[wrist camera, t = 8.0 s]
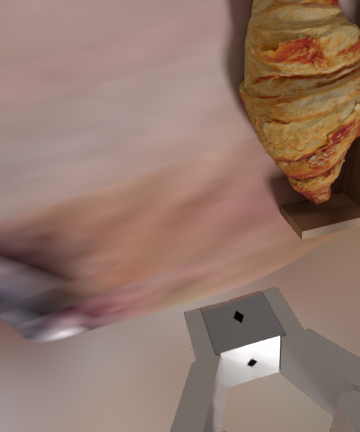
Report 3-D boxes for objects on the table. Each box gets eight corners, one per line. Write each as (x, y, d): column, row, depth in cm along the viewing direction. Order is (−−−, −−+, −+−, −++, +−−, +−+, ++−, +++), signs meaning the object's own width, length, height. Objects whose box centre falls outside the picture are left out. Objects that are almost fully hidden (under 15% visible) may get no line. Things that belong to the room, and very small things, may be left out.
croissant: (219, -47, 24) (191, -38, 18) (375, -119, 20) (402, -138, 14) (272, 185, 36) (265, 234, 30) (378, 172, 31) (393, 226, 26)
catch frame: (281, 214, 34) (301, 240, 30) (287, -103, 20) (326, -127, 17) (351, 197, 35) (380, 220, 31) (404, -124, 21) (468, -152, 17)
